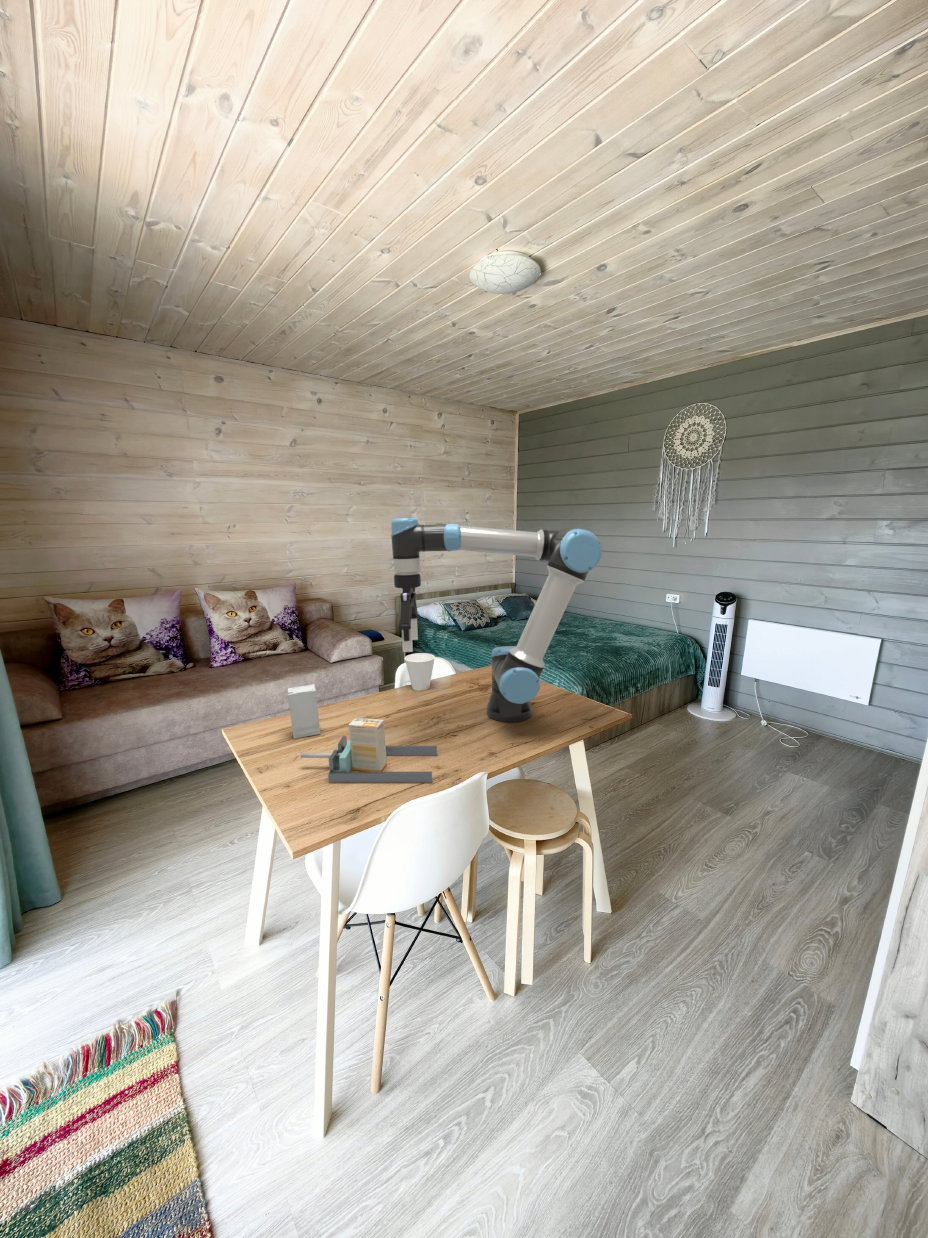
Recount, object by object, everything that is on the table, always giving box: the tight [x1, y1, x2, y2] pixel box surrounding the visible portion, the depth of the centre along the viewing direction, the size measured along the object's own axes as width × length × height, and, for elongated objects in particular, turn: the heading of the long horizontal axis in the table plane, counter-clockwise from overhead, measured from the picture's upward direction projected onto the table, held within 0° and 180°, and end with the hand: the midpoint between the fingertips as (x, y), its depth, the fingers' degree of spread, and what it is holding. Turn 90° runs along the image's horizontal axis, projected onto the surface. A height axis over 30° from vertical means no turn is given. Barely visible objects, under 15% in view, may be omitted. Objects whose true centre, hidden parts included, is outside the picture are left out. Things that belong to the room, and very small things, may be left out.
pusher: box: [300, 739, 352, 772], centre depth 127 cm, size 14×12×6 cm
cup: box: [404, 652, 436, 692], centre depth 187 cm, size 12×12×12 cm
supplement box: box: [348, 717, 388, 772], centre depth 126 cm, size 8×5×13 cm, turn 76°
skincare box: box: [287, 683, 321, 740], centre depth 147 cm, size 8×6×15 cm
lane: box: [328, 735, 438, 784], centre depth 127 cm, size 26×15×6 cm, turn 88°
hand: (410, 645), depth 141 cm, fingers open, 13 cm apart
